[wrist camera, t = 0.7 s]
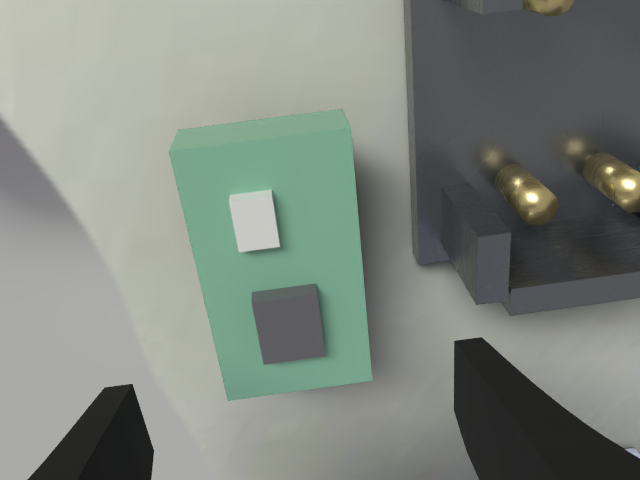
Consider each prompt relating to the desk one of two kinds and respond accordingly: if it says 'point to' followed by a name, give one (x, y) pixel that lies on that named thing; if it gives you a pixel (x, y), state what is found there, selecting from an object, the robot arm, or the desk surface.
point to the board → (277, 250)
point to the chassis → (527, 147)
